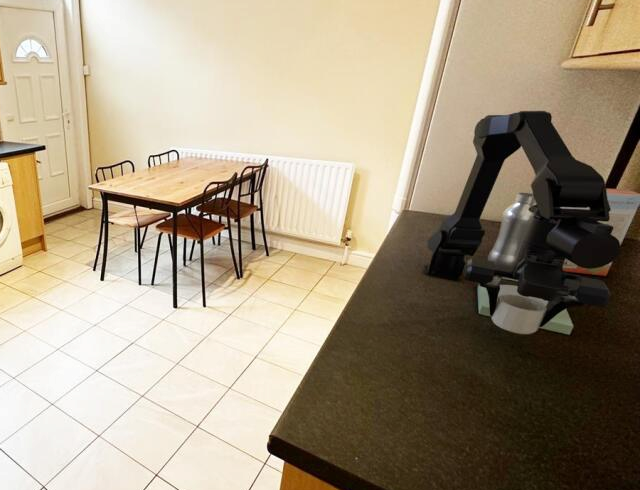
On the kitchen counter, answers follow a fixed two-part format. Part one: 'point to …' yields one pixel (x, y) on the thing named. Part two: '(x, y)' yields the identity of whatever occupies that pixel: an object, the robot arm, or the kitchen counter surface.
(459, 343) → the kitchen counter surface
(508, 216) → the silver metal bottle
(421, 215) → the kitchen counter surface
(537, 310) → the bowl
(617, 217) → the cracker box
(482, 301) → the scale
